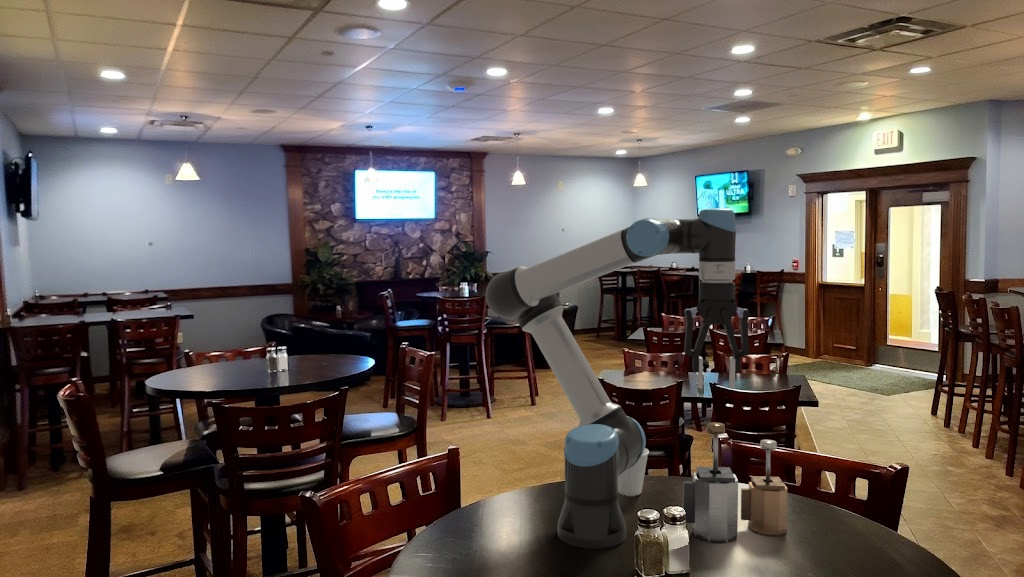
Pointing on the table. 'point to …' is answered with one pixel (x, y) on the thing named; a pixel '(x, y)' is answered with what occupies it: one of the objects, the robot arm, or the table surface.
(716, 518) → the steel press
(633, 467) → the cup
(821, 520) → the table surface
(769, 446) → the grey press handle
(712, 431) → the steel plunger
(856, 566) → the table surface
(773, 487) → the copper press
